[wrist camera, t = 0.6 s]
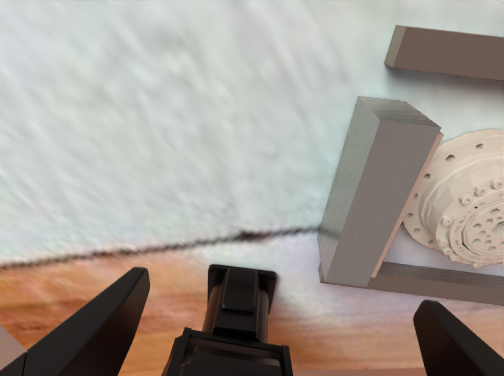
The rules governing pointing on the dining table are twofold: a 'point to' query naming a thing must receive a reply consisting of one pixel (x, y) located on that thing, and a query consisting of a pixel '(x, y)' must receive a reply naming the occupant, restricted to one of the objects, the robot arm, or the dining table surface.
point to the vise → (455, 63)
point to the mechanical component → (463, 200)
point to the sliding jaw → (374, 187)
